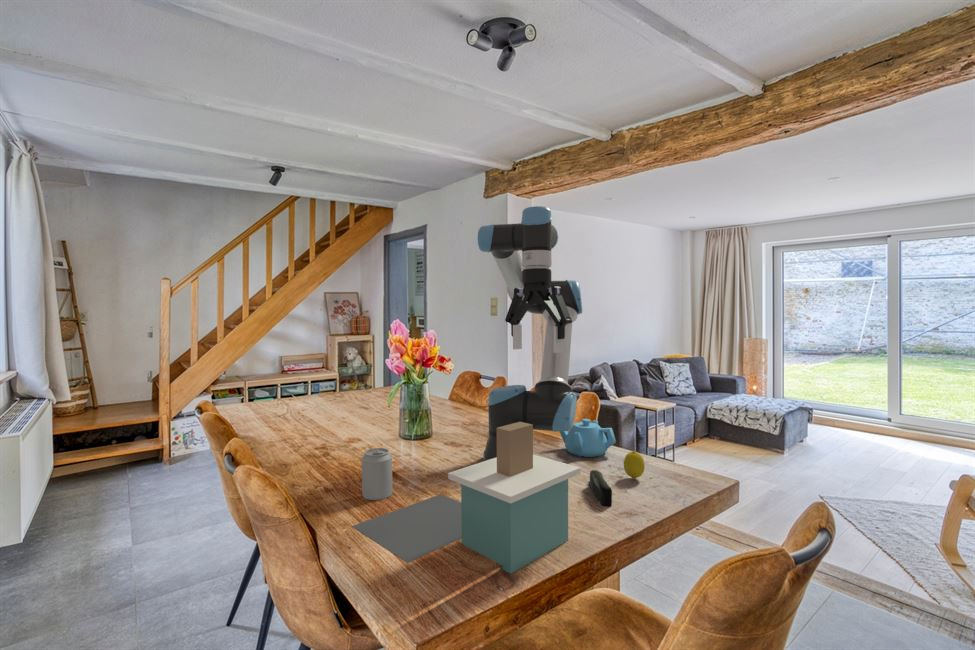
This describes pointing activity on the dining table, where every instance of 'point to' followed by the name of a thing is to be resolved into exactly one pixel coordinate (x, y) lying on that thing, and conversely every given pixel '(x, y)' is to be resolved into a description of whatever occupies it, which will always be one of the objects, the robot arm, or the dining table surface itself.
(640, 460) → the lemon
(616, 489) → the dining table surface
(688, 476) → the dining table surface
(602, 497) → the mobile phone
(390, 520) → the mat
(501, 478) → the lid
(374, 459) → the can
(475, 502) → the teal storage bin
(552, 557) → the dining table surface
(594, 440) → the teapot
